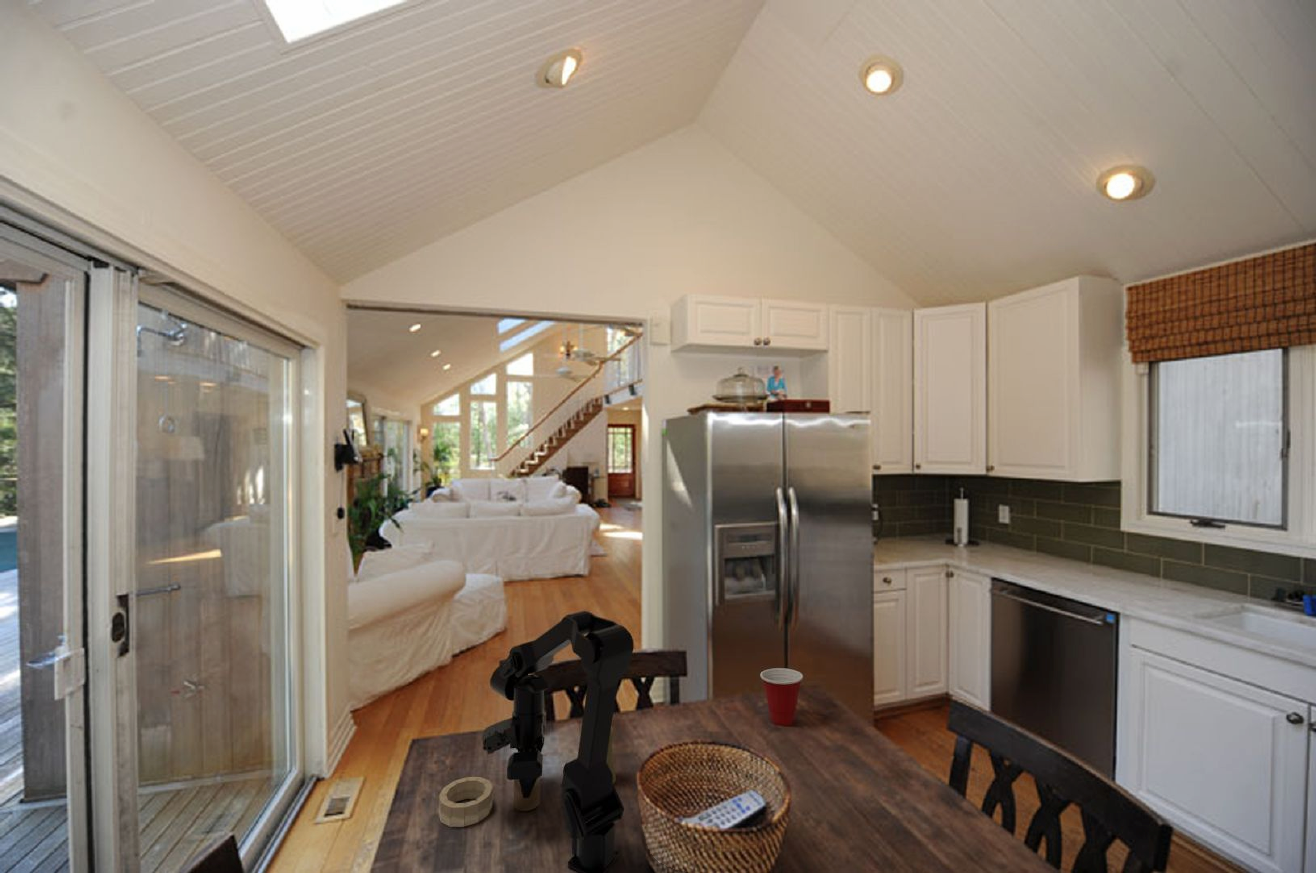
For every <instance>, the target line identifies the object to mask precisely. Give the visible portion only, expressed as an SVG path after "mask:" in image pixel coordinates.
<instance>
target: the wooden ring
mask: <svg viewBox="0 0 1316 873" xmlns="http://www.w3.org/2000/svg"><path fill="white" fill-rule="evenodd" d="M493 792H494V791H493V785H492V783H491V781H490V780H488V779H486V778H484V777H480V776H468V777H462V778H460V779H456V780H454V781H451V782H450V783H448V784H447V785H446V786H445V787H443V789H442V790H441V791H440V794H439V795H438V817H439V821H440V823H442V824H444V825H445V826H448V827H449V828H450V827H451V828H463V827H468V826H471V825H474V824H477V823H479V822H481V821H482V820H484V819H485V818H486V817H487V816H489V814H490V812H491V810H492V808H493V795H494V794H493ZM466 799H467V800H468V799H469V800H471V799H472V800H471V801H468V802H461V801H465V800H466ZM473 799H474V800H473Z"/></svg>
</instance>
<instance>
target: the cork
mask: <svg viewBox="0 0 1316 873" xmlns="http://www.w3.org/2000/svg"><path fill="white" fill-rule="evenodd" d="M615 736H616V735H615V729H614V727H613V726H612V725H611V732H610V739H609V746H608V753H607V763H608V765H609V767H610V769H611V771H612V772H613V784H614V785H615V782H616V779H617V776H616V767H615V758H614V750H613V749H614V748H613V742H614V738H615Z"/></svg>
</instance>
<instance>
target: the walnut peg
mask: <svg viewBox="0 0 1316 873" xmlns="http://www.w3.org/2000/svg"><path fill="white" fill-rule="evenodd" d="M530 751H531V749H530ZM536 751H538V750H536ZM523 752H524V750H523ZM539 752H540V751H539ZM540 803H541V776H540V777H539V778H537V780H536V783H535V785H534V787H533V790H532V792H531V794H530V797H529V798H523V795H522V791H521V786H520V782H519V779H516V780H513V808H515V809H516V810H517V811H522V812H527V811H532V810H534V809H536V808H537V807H538V806H539V805H540Z"/></svg>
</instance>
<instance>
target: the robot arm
mask: <svg viewBox="0 0 1316 873" xmlns="http://www.w3.org/2000/svg"><path fill="white" fill-rule="evenodd" d="M569 645H571V648H572V649H571V650H572V652H573V653H574V654H575V656H578V657H579V658H580V665H581V668H582V669H583V672H584V674H585V675H586V677H587V686H586V694H585V700H584V706H583V707H584V708H583V713H582V714H583V716H582V723H581V728H580V730H581V731H580V737H579V745H578V750H577V758H575V759H573V760H570V761H568V762H566V763H565V764H564V766H563V768H562V778H561V779H562V780H561V783H560V784H559V785H560V788H562V789H561V797H560V798H561V799H560V801H561V807H562V812H563V814H562V815H563V818H564V824H565V829H566V830H567V831H568V832H569V838H571V855H572V857H571V858H570V859H569V860H568V861H567V867H568V868H570V869H572V870H574V871H577V872H579V873H607V872H608V870H610V868H611V867H612V866H613V864H614V863H615V862H616V861H617V860H618V858H620V851H618V850H616V849H615V844H616V843H615V840H616V839H615V837H616V836H615V831H616V829H615V828H616V826H615V822H617V821H619V820H621V819H622V818H623V817H624V816H623V815H624V812H625V807H624V804H623V802H622V800H621V798H620V796H619V793H618V791H617V790H616V787H615V783H614V784H613V772H612V771H611V769H610V767H609V765H608V763H607V753H608V746H609V739H610V732H611V726H612V724H613V716H614V709H615V704H616V703H615V702H616V695H617V688H618V683H619V681H620V680H621V679H622V678H623V675H624V674H625V672H626V671H627V670H628V668H629V666H630V663H631V659H632V656H633V653H634V639H633V636H632V634H631V632H630V631H629V630H628V629H627V628H626V627H625V626H624V625H621V624H618V623H617V622H615V621H613V620H610V619H607V618H603V617H600V616H597V615H595V614H593V613H592V612H591V611H587V610H582V611H578V612H573V613H568V614H567V615H565V616H564V617H562V618H561V620H560V621H559V622H557V623H556V624H554V625H553V626H552V627H550V628H549V629H547V630H546V631H545V632H544V633H542V634H541V635H540V636H538V637H536V638H535V639H534V640H531V641H527V642H523V643H520V644H518V645H515V646H513V647H511V648H510V650H509V652H508V656H507V658H504V659H501V660H498V662H499V664H498V666H497V667H496V668H495V670H494V671H493V672H492V674H491V677H490V679H489V685H490V687H491V689H492V690H493V692H496V693H497V694H499V695H500V696H501V697H503V698H505V699H507V700H508V701H511V702H512V701H513V709H512V710H513V711H512V713H511V714H512V715H511V717H509V718H507V719H506V718H505V719H503V720H500V721H498V722H496V723H494V724H491V725H489V726H487V727H486V728H484V730H483V734H482V736H481V741H482V744H483V746H482V750H483V751H486V754H487V755H491V754H494V753H495V752H497V751H499V750H502V749H503V748H505V747H508V746H509V749H512V750H514V749H516V750H517V751H515V752H512V754H511V755H510V756H509V758H508V761H507V762H508V763H507V767H506V779H507V780H509V781H514V780H516V779H519V782H520V786H521V791H522V795H523V798H529V797H530V794H531V792H532V790H533V787H534V785H535V783H536V780H537V778H539V777H540V778H541V777H542V776H543V768H544V764H543V763H544V754H542V751H543V748H544V745H545V736H544V734H546V718H545V717H544V714H545V713H544V712H545V711H544V710H545V709H544V708H545V707H544V701H545V700H544V699H545V698H544V692H545V690H548V689H550V684H549V682H548V681H547V680H546V679H545V678H544V676H543V675H539V676H538V675H535V674H534V673H536V672H540V671H543V670H546V669H547V668H549V666H550V665H551V664H552V663H553V662H554V660H555V658H554V657H555V656H556V654H558V653H560V652H561V651H562V650H564V649H565V648H567V647H568V646H569ZM530 749H531V751H530ZM523 750H524V752H523ZM536 750H538V751H536ZM539 751H540V752H539Z"/></svg>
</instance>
